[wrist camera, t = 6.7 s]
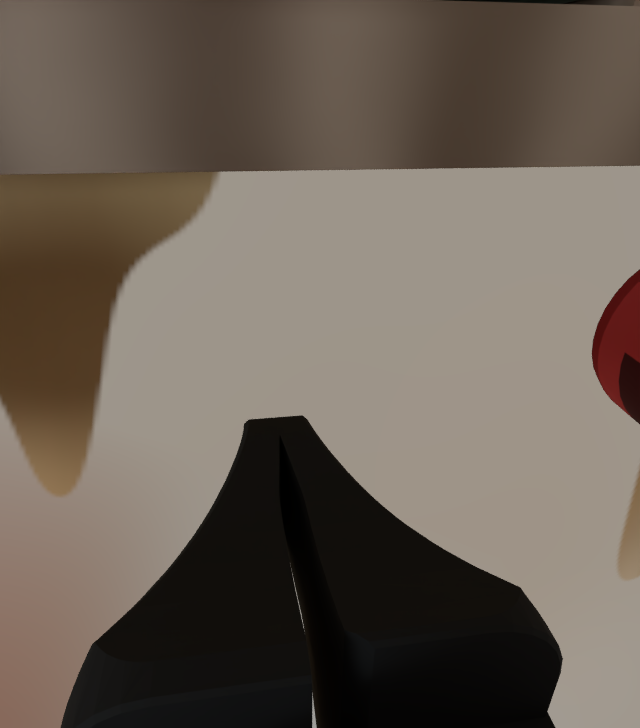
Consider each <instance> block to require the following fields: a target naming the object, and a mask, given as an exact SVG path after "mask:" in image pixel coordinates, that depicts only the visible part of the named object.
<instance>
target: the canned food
mask: <svg viewBox="0 0 640 728" xmlns="http://www.w3.org/2000/svg"><path fill="white" fill-rule="evenodd" d="M592 359H593V367H594V370H595V372H596V375H597V377H598V379H599V381H600V384H601V385H602V387H603V390H604V391H605V392H606V394H607V395H608V396H609V397H610V399H611V400H612V401H613V402H615V403H616V404H617V405H618V406H619V407H620V408H621V409H623V410H624V411H625V412H626V413H627V414H628V415H630V416H631V417H632V418H633V419H634V420H635V421H636V422H638V423H639V424H640V270H638V271H637V272H636V273H635V274H634V275H633V276H631V277H630V278H629V279H628V280H627V281H626V282H625V283H624V285H623V286H622V287H621V288H620V289H619V290H618V291H617V292H616V294H615V295H614V297H613V298H612V299H611V301H610V303H609V304H608V305H607V307H606V308H605V310H604V312H603V314H602V317H601V319H600V321H599V323H598V325H597V329H596V332H595V336H594V339H593V348H592Z"/></svg>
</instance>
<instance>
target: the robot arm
mask: <svg viewBox="0 0 640 728" xmlns="http://www.w3.org/2000/svg"><path fill="white" fill-rule="evenodd" d="M291 569H292V571H291ZM292 573H293V576H292ZM293 578H294V581H293ZM294 582H295V586H294ZM295 587H296V591H297V596H298V600H299V605H300V609H301V613H302V619H303V623H302V619H301V614H300V610H299V605H298V600H297V596H296V592H295ZM303 624H304V628H303ZM304 630H305V632H304ZM562 660H563V658H562V655H561V651H560V648H559V645H558V644H557V642H556V640H555V638H554V637H553V635H552V633H551V631H550V630H549V628H548V626H547V625H546V623H545V621H544V620H543V619H542V617H541V615H540V614H539V612H538V611H537V610H536V608H535V607H534V606H533V604H532V603H531V602H530V601H529V599H528V598H527V596H526V595H525V594H524V592H523V591H522V589H521V588H520V587H518V586H516V585H514V584H511V583H509V582H507V581H505V580H503V579H501V578H498V577H497V576H494V575H492V574H490V573H488V572H486V571H484V570H481V569H479V568H477V567H475V566H473V565H471V564H469V563H467V562H466V561H464V560H462V559H460V558H458V557H457V556H455V555H453V554H451V553H449V552H447V551H446V550H444V549H442V548H441V547H439V546H438V545H436V544H434V543H433V542H431V541H429V540H428V539H427V538H425V537H423V536H422V535H421V534H419V533H417V532H416V531H415V530H413V529H412V528H410V527H409V526H407V525H406V524H404V523H403V522H402V521H401V520H399V519H398V518H397V517H395V516H394V515H393V514H392V513H391V512H389V511H388V510H387V509H385V508H384V507H383V506H382V505H381V504H380V503H379V502H378V501H376V500H375V499H374V498H373V497H372V496H371V495H370V494H369V493H368V492H367V491H366V490H365V489H364V488H363V487H362V486H361V485H359V483H358V482H357V481H356V480H355V479H354V478H353V477H352V476H351V475H350V474H349V473H348V472H347V471H346V470H345V468H344V467H343V466H342V465H341V464H340V463H339V461H338V460H337V459H336V458H335V457H334V456H333V454H332V453H331V452H330V451H329V450H328V448H327V447H326V446H325V444H324V443H323V442H322V440H321V439H320V438H319V436H318V435H317V434H316V432H315V431H314V429H313V428H312V426H311V425H310V423H309V422H308V420H307V419H306V418H305V417H304V416H290V417H277V418H264V419H251V420H248V421H247V422H246V423H245V424H244V431H243V435H242V440H241V443H240V446H239V449H238V452H237V455H236V458H235V460H234V462H233V465H232V467H231V470H230V472H229V474H228V477H227V479H226V481H225V483H224V485H223V487H222V489H221V491H220V492H219V494H218V496H217V498H216V500H215V502H214V504H213V506H212V507H211V509H210V511H209V513H208V514H207V516H206V517H205V519H204V521H203V522H202V524H201V525H200V527H199V528H198V530H197V531H196V533H195V534H194V536H193V537H192V539H191V540H190V541H189V543H188V544H187V545H186V547H185V548H184V549H183V551H182V552H181V554H180V555H179V556H178V557H177V559H176V560H175V561H174V562H173V564H172V565H171V566H170V567H169V568H168V570H167V571H166V572H165V573H164V574H163V575H162V576H161V577H160V579H159V580H158V581H157V582H156V583H155V584H154V585H153V586H152V587H151V588H150V590H149V591H148V592H147V593H146V594H145V595H144V596H143V597H142V598H141V600H139V601H138V602H137V604H135V605H134V607H132V608H131V610H129V611H128V612H127V613H126V614H125V615H124V616H123V617H122V618H121V619H120V620H118V621H117V622H116V623H115V624H114V625H113V626H112V627H111V628H110V629H109V630H108V631H107V632H106V633H104V634H103V635H102V636H101V637H100V638H99V639H98V640H97V641H95V642H94V643H93V644H92V646H91V648H90V650H89V652H88V654H87V657H86V659H85V661H84V663H83V665H82V668H81V670H80V672H79V674H78V677H77V679H76V682H75V685H74V687H73V690H72V692H71V695H70V698H69V701H68V703H67V706H66V710H65V713H64V717H63V721H62V725H61V728H312V692H313V700H314V709H315V717H316V725H317V728H555V726H554V724H553V722H552V720H551V718H550V716H549V714H548V712H547V711H548V708H549V705H550V702H551V699H552V696H553V693H554V690H555V687H556V684H557V682H558V679H559V676H560V673H561V666H562Z"/></svg>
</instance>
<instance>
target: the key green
mask: <svg viewBox="0 0 640 728" xmlns="http://www.w3.org/2000/svg"><path fill="white" fill-rule="evenodd" d="M443 1H476V2H510V3H543V4H563V3H568V2H573V1H578V0H443Z"/></svg>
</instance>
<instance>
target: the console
mask: <svg viewBox="0 0 640 728" xmlns="http://www.w3.org/2000/svg"><path fill="white" fill-rule="evenodd" d="M636 165H637V166H639V165H640V0H578V1H573V2H568V3H563V4H543V3H510V2H476V1H443V0H0V175H6V174H77V173H147V172H218V171H279V170H280V171H288V170H356V169H424V168H425V169H426V168H427V169H428V168H492V167H493V168H498V167H566V166H567V167H570V166H636Z"/></svg>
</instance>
